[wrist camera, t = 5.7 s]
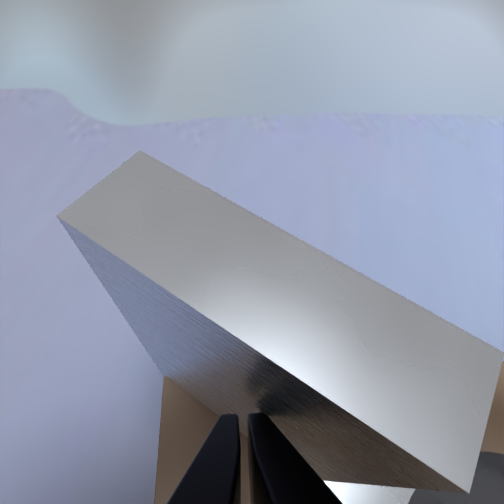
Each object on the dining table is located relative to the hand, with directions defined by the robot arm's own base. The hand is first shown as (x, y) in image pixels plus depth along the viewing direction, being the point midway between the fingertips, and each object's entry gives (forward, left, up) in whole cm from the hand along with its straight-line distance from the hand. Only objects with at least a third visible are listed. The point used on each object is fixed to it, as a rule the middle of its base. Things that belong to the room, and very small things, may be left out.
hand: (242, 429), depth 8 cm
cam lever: (+1, -5, -7) cm, 8 cm away
